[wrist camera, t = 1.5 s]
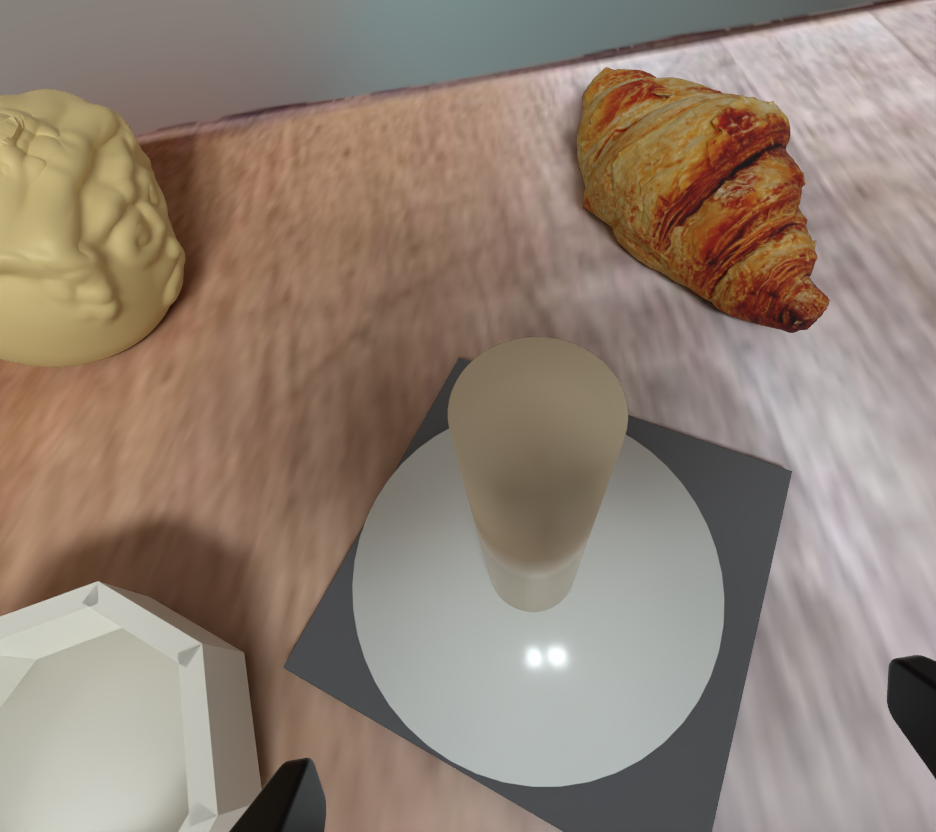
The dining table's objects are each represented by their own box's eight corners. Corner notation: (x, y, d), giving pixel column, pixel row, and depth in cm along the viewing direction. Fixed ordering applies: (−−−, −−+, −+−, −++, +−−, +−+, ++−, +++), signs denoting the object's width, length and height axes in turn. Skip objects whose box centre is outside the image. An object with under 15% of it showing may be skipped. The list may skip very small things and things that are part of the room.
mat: (787, 475, 22) (792, 471, 22) (691, 903, 16) (694, 908, 16) (460, 362, 26) (459, 357, 26) (287, 668, 20) (283, 667, 20)
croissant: (551, 168, 38) (495, 79, 32) (682, 61, 35) (649, -62, 28) (720, 408, 27) (687, 347, 21) (933, 287, 24) (972, 170, 17)
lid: (754, 485, 22) (996, 243, 10) (655, 876, 16) (941, 1239, 5) (452, 378, 25) (394, 117, 14) (290, 664, 20) (-7, 603, 9)
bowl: (323, 696, 20) (285, 693, 17) (102, 1117, 15) (-10, 1223, 12) (100, 565, 23) (33, 542, 20) (-138, 878, 18) (-275, 912, 15)
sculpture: (202, 378, 27) (33, 203, 18) (-24, 410, 28) (-304, 256, 18) (228, 222, 33) (110, 27, 24) (40, 251, 33) (-150, 70, 24)
